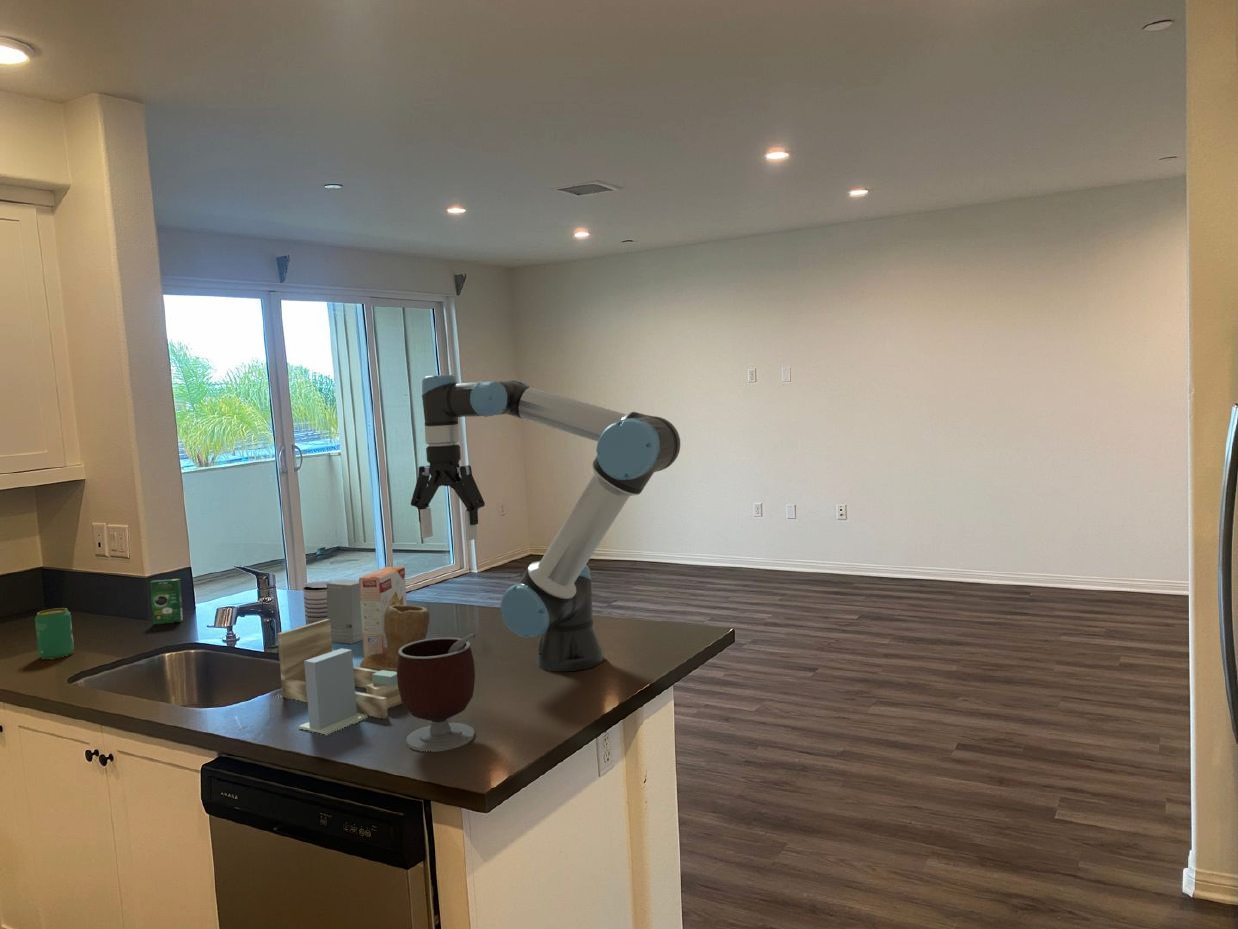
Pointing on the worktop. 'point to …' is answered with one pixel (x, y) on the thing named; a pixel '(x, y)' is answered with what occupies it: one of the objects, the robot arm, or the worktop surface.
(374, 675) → the offcut teal
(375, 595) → the cracker box
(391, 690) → the offcut pine
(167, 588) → the coffee box
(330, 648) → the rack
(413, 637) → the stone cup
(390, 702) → the offcut oak
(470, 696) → the mate gourd
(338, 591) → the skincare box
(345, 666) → the tall white upright block
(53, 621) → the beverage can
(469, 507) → the robot arm
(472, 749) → the worktop surface
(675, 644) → the worktop surface
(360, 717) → the pad
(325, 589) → the can
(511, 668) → the worktop surface
